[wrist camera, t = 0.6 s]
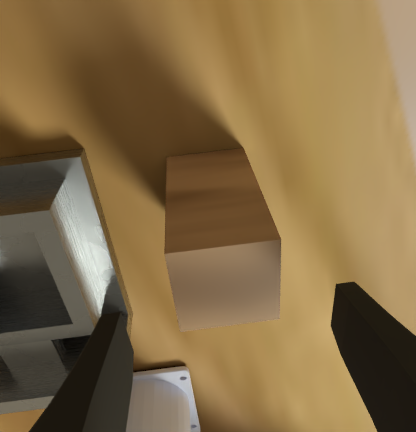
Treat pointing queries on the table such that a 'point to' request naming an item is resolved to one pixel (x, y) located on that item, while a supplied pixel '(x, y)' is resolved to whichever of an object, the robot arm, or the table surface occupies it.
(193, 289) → the brown rectangular block
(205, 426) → the table surface
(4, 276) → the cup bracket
